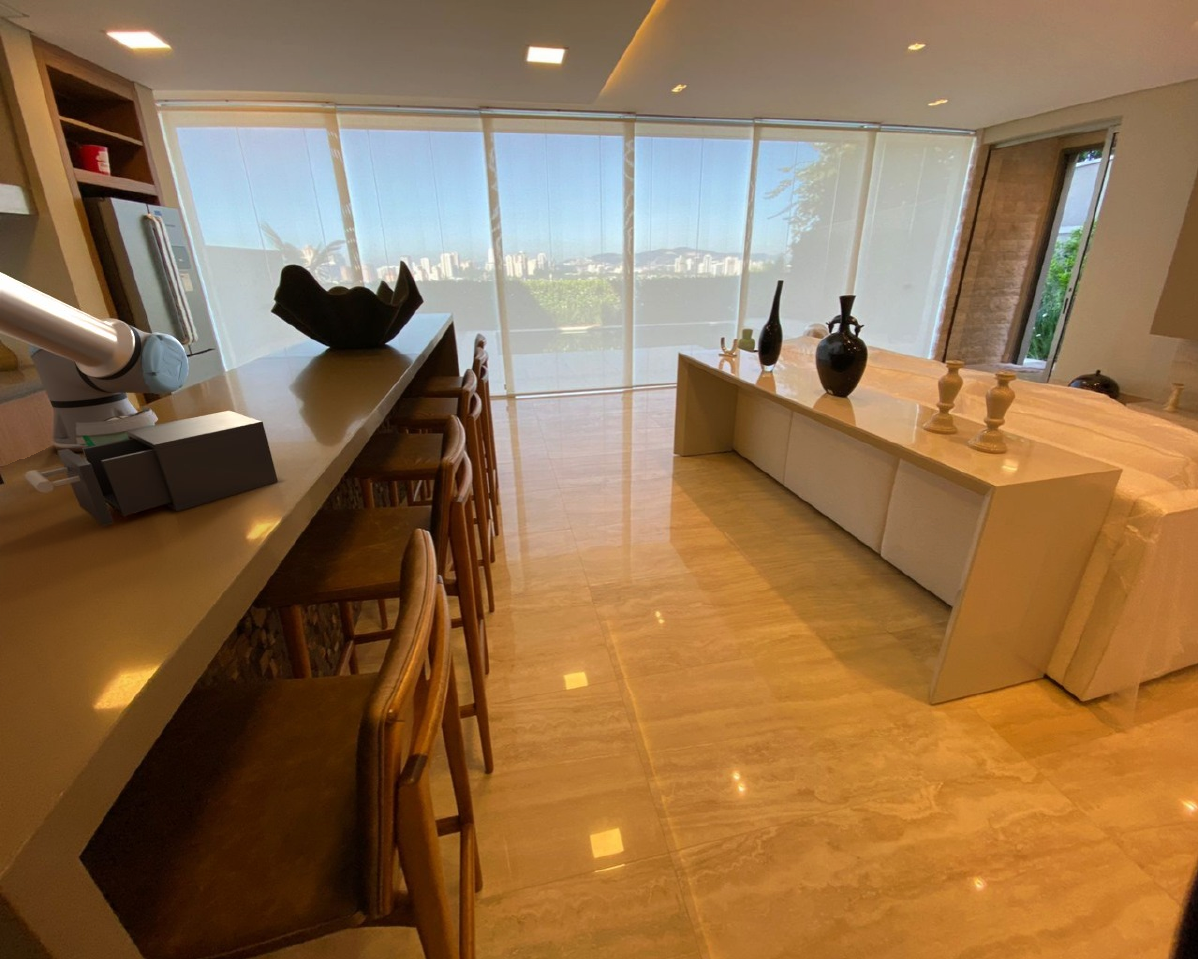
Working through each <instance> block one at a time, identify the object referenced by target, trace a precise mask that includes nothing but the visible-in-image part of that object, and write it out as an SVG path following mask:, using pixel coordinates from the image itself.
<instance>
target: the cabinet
mask: <svg viewBox="0 0 1198 959" xmlns="http://www.w3.org/2000/svg"><path fill="white" fill-rule="evenodd" d="M126 434H127V436H128V439H131V438H134V439H136V440H138V441H140V442H142V443H144V444H146V445H147V446H149V447H151V448H153V449H154V451H155V453H156V456H157V459H158V462H159V465H160V468H161V471H162V474H163V477H164V480H165V483H166V486H167V489H168V492H169V494H170V497H171V500H172V502H171V503H167V504H165V506H167V507H169V508H171V509H172V510H173V511H175V512H177V513H178V512H181V511H185V510H187V509H192V508H194V507H198V506H201V505H204V504H208V503H211V502H214V501H217V500H221V499H225V498H228V497H231V496H233V495H238V494H241V493H244V492H248V491H251V490H255V489H258V488H262V487H264V486H265V487H266V486H267V485H271V484H275V483H277V482H279V480H278V475H277V472H276V468H275V463H274V461H273V456H272V452H271V448H270V445H269V441H268V437H267V432H266V429H265V425H264V422H263V421H262V420H259V419H256V418H254V417H250V416H247V415H245V414H244V415H243V414H241V413H237V412H234V411H231V410H226V411H221V412H216V413H215V412H214V413H210V414H204V415H200V416H194V417H190V418H183V419H179V420H174V421H168V422H163V423H158V424H155V425H152V426H146V427H141V428H136V429H130V430H126Z"/></svg>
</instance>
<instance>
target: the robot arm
mask: <svg viewBox="0 0 1198 959" xmlns="http://www.w3.org/2000/svg"><path fill="white" fill-rule="evenodd" d="M0 334H1V335H4V336H7V337H10V338H12V339H15V340H18V341H20V342H23V343H26V344H27V347H28V350H29V357H30V359H32V362H33V364H34V367H35V369H36V371H37V374H38V377H39V379H40V381H41V383H42V384H41V385H42V386H43V388H44V390H45V391H44V392H46V396H47V398H48V400H49V402H50V405H51V407H52V410H53V424H52V442H53V446H54V447H55V449H56V450H57V451H58V450H63V449H69V450H71V451H72V452H74V453H82V452H83V450H82V448H86V447H88V446H87V444H86V442H85V440H84V439H83V437H82V435H77V433H76V427H77V425H76V423H90V422H101V421H103V420H106V419H108V418H111V417H115V416H124V415H130V414H135V413H138V412H139V411H138V410H137V409H136V408H135V407H134V406H133V404H132V403H131V402H130V400H129V398H128V396H127V394H155V395H162V394H171V393H175V392H177V391H178V390H179V389H181V388H182V387H184V385H185V383H186V381H187V379H188V376H189V371H190V370H189V368H190V367H189V366H190V365H189V358H188V356H187V353H186V349H185V348H184V347H183V344H181V342H180V341H179V340H178V339H177V338H175V337H174V336H172V335H170V334H167V333H162V332H158V331H157V332H155V331H154V332H152V333H151V332H146V331H144V330H143V331H142V330H140V329H138V328H136V327H134V326H133V325H130V324H128V323H126V322H125V321H122V320H120V319H117V318H111V317H109V318H102V319H101V318H100V319H99V318H97V317H95V316H93V315H90V314H88V313H86V312H84V311H82V310H80V309H78V308H75V307H74V306H71V305H69V304H67V303H65V302H63V301H62V300H59V299H57V298H55V297H53V296H51V295H48V294H47V293H44V292H42V291H40V290H38V289H36V288H34V287H31V286H30V285H28V284H25V283H24V282H21V281H19V280H17V279H15V278H13V277H10V276H9V275H7V274H5V273H2V272H0ZM0 485H5V481H4V479H3V477H2V474H1V473H0Z"/></svg>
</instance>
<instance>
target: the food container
mask: <svg viewBox="0 0 1198 959" xmlns="http://www.w3.org/2000/svg"><path fill="white" fill-rule="evenodd" d="M141 409H142V410H141V411H137V412H138V413H135V414H130V415H124V416H115V417H111V418H108V419H106V420H103V421H101V422H90V423H76V425H77V427H76V433H77V435H82V437H83V439H84V440H85V442H86V444H87V446H88V447H91V446H96V445H101V444H106V443H111V442H116V441H121V440H126V439H128V436H127V434H126V430H130V429H136V428H141V427H146V426H152V425H156V424H155V423H156V422H157V421H158V420H159V418H158V417H157V415H156V413H155V411H154V410H152V408H150V407H149V406H141Z"/></svg>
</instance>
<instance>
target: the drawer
mask: <svg viewBox="0 0 1198 959" xmlns="http://www.w3.org/2000/svg"><path fill="white" fill-rule="evenodd" d="M82 450H83V455H84V458H85V459H84V458H83V457H81V456H80V455H79V454H76V452H72V451H71V450H69V449H63V450H57V451H56V452H57V453H58V457H59V460H60V461H61V464H62V467H60V468H56V469H51V470H47V471H43V472H40V471H39V470H33V469H32V470H29V471H27V472H25V473H24V479H25V480H26V481H27V482H28V483H29V484H30V485H31V486H33V488H35V490H36V491H37V492H40V493H42V494H47V493H48V494H49V493H51V492H52V491H53V490H54V489H55V487H59V486H63V485H64V486H65V485H69V484H70V486H71V487H72V491H73V493H74V495H75V498H76V500H77V502H78V506H79V507H80V508H81V509H83V510H84V511H85V512H86V513H87V514H88V515H90V516H91V517H92V519H94V520H96V521H97V523H99V524H100V525H101V526H102V527H104V526H107V525H111V524H114V523H115V522H114V520H113V517H112V514H111V511H110V509H109V506H110V507H111V508H112V509H113V510H115V511H116V512H117V513H119V514H120V515H121V516H122V517H125V516H129V515H133V514H136V513H140V512H143V511H147V510H150V509H153V508H156V507H161V506H163V505H166V504H167V503H171V502H172V500H171V497H170V494H169V492H168V489H167V486H166V483H165V480H164V477H163V474H162V471H161V468H160V465H159V462H158V459H157V456H156V453H155V451H154V449H153V448H151V447H149V446H147V445H146V444H144V443H142V442H140V441H138V440H136V439H134V438H131V439H126V440H121V441H116V442H111V443H106V444H101V445H96V446H91V447H86V448H82ZM65 473H66V476H67V477H66V478H63V479H58V480H54V481H50V479H48V478H47V477H51V476H57V475H60V474H65ZM108 505H109V506H108Z"/></svg>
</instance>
